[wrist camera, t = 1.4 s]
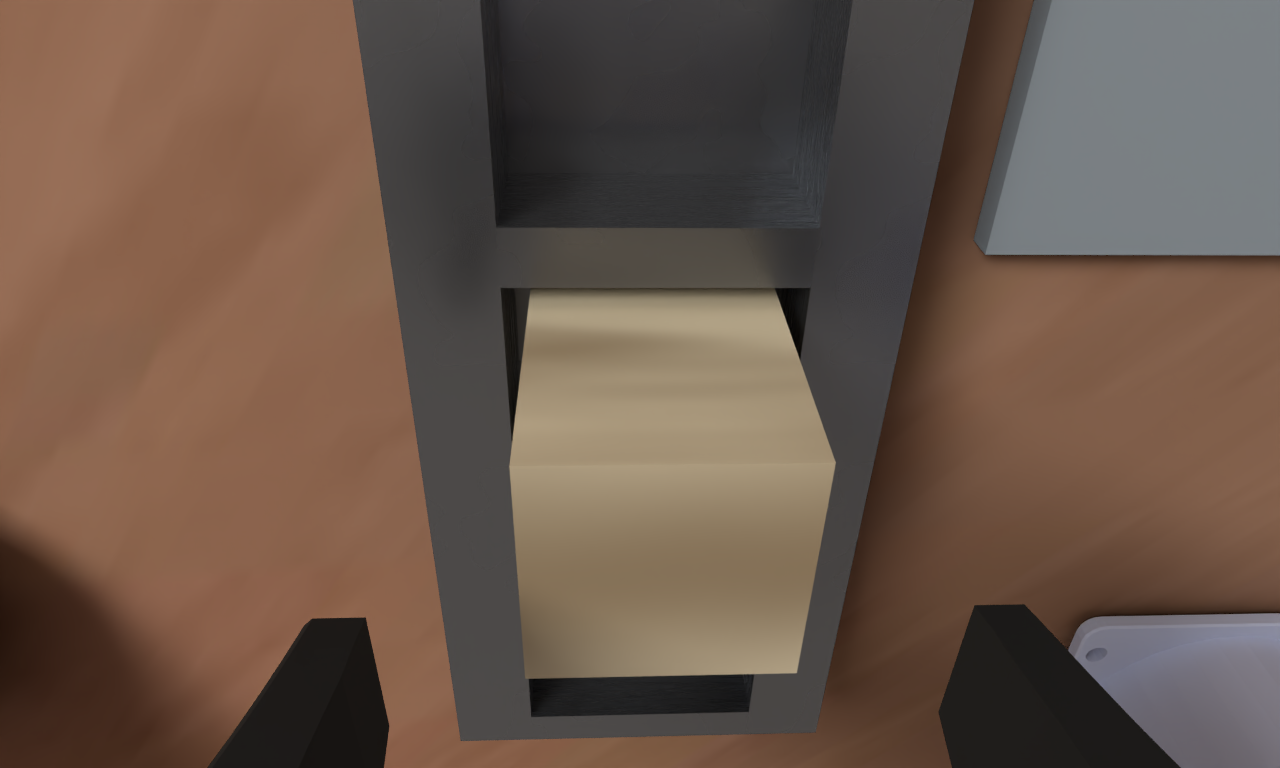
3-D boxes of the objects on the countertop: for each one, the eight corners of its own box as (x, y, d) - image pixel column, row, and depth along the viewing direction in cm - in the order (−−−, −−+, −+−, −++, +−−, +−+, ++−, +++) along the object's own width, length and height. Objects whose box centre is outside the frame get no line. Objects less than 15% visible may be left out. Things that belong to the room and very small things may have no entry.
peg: (741, 428, 18) (796, 672, 13) (543, 430, 18) (525, 678, 13) (760, 249, 16) (835, 462, 11) (535, 248, 16) (509, 465, 11)
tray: (794, 641, 23) (815, 732, 21) (473, 647, 22) (460, 740, 20) (948, -221, 13) (1021, -219, 10) (366, -238, 12) (318, -238, 10)
